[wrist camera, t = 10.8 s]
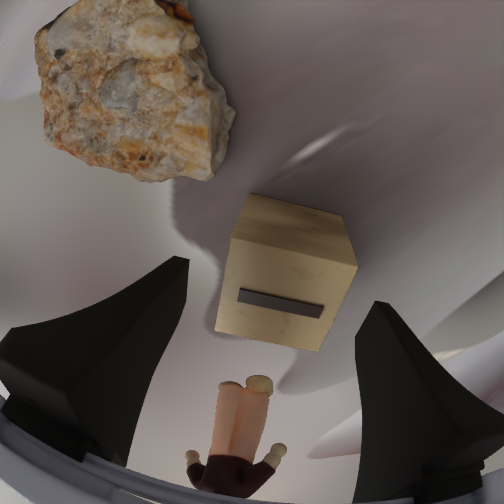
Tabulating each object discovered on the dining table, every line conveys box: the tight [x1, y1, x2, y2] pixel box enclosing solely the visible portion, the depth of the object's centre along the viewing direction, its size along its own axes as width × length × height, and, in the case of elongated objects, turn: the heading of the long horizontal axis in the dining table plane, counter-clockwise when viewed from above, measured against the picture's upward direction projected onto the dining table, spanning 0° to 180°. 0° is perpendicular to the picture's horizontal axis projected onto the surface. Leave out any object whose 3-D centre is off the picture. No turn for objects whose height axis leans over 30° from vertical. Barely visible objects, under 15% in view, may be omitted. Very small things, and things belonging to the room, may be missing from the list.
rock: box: [34, 0, 236, 183], centre depth 9 cm, size 9×6×10 cm
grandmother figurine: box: [185, 375, 287, 499], centre depth 16 cm, size 8×4×13 cm, turn 129°
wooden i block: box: [215, 193, 358, 352], centre depth 13 cm, size 4×4×5 cm
